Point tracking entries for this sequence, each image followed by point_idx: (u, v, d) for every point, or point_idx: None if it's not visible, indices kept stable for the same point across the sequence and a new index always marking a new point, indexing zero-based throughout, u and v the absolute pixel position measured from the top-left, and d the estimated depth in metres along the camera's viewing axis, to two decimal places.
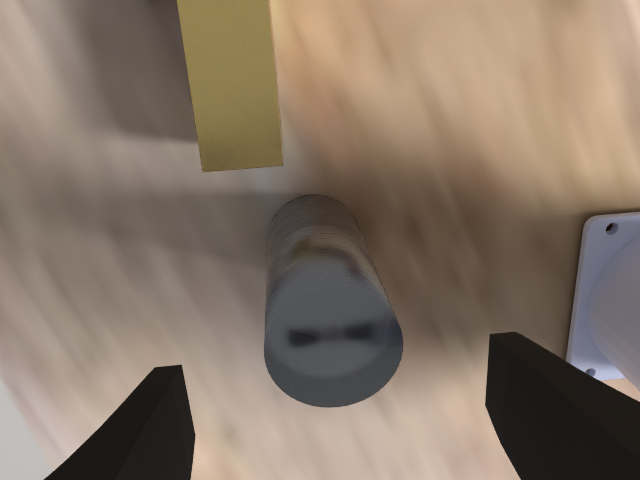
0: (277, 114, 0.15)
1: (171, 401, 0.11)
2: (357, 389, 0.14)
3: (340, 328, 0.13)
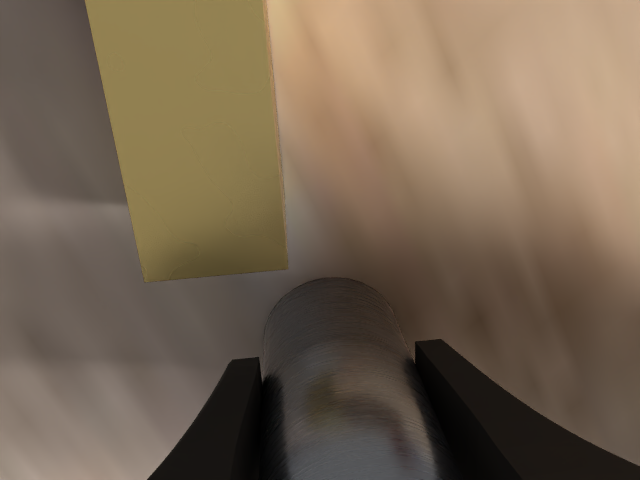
0: (277, 183, 0.08)
1: (256, 392, 0.11)
2: None
3: None
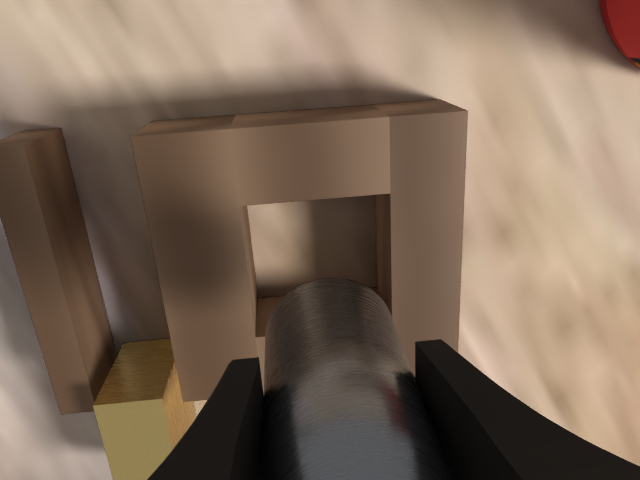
0: None
1: (256, 392, 0.11)
2: None
3: None
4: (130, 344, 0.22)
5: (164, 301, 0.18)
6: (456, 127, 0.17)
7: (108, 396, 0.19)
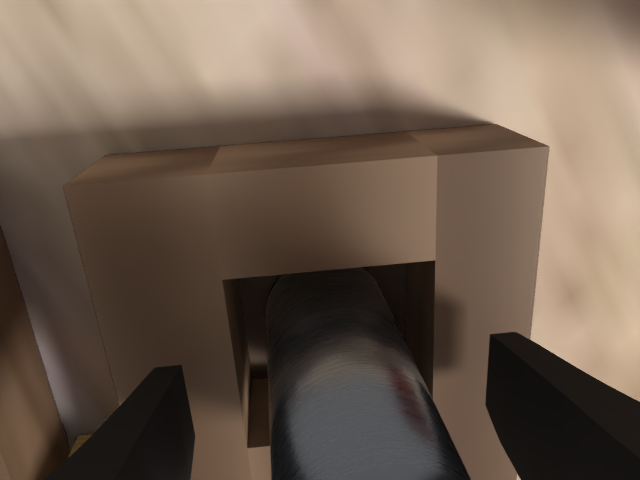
0: None
1: (171, 401, 0.11)
2: None
3: None
4: (86, 438, 0.17)
5: None
6: (532, 169, 0.12)
7: None
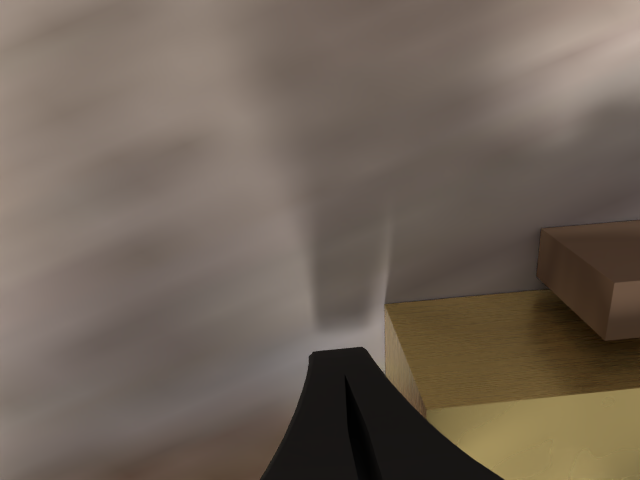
0: None
1: None
2: None
3: None
4: None
5: None
6: None
7: None
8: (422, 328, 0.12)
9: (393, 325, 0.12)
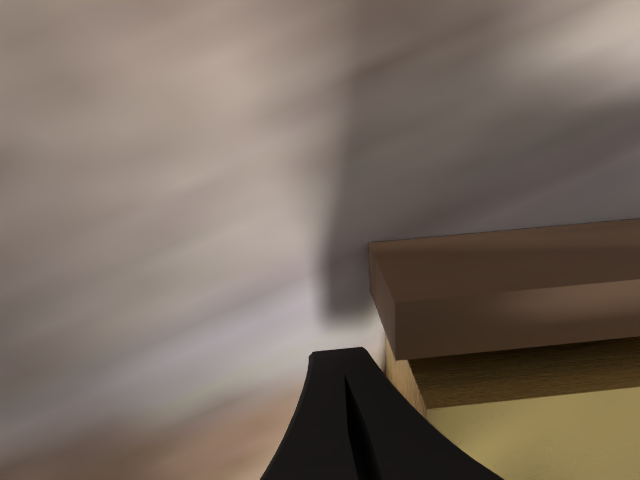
0: None
1: None
2: None
3: None
4: None
5: None
6: None
7: None
8: None
9: None
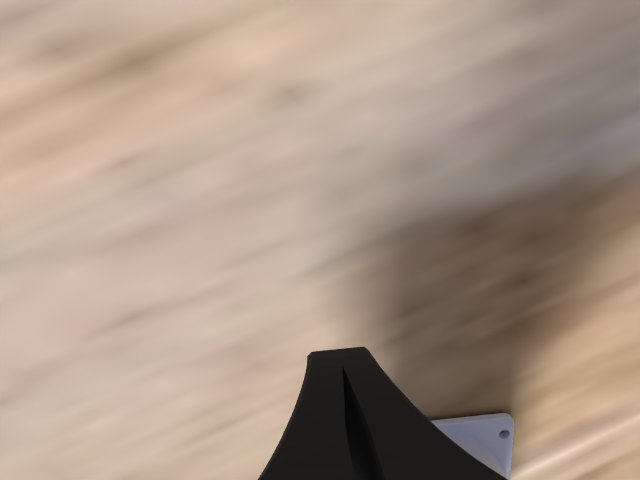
0: None
1: (343, 384, 0.11)
2: None
3: None
4: None
5: None
6: None
7: None
8: None
9: None
